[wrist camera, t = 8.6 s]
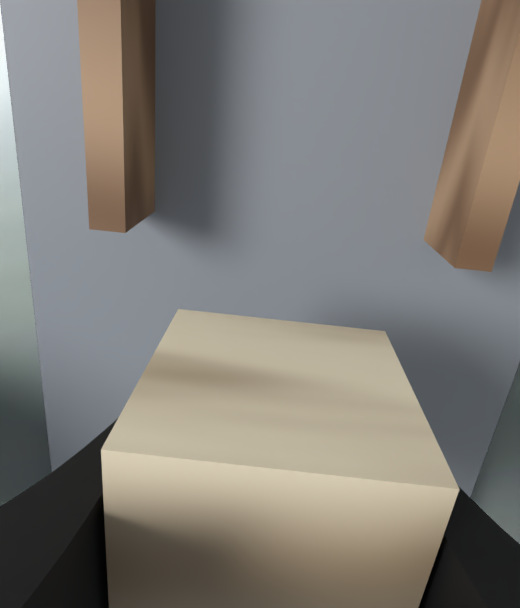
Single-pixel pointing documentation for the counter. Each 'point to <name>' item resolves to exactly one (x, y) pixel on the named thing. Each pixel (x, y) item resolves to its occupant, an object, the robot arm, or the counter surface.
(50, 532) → the robot arm
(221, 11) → the deck
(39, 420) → the counter surface
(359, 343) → the block
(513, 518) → the counter surface
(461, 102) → the frame
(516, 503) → the counter surface
